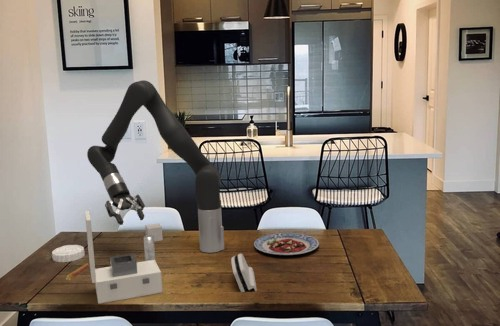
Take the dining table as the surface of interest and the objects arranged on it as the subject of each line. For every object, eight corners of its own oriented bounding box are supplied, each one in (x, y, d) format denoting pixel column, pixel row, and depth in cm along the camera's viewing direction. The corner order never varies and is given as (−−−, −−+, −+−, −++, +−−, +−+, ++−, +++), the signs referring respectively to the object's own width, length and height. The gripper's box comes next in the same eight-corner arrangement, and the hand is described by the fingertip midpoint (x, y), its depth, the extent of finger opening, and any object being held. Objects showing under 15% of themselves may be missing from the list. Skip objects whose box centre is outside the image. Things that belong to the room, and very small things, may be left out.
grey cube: (159, 236, 221) (159, 223, 220) (162, 240, 215) (161, 226, 214) (146, 238, 219) (145, 225, 218) (148, 242, 213) (147, 228, 212)
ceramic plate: (332, 249, 198) (332, 242, 198) (280, 264, 184) (280, 257, 184) (291, 233, 219) (291, 227, 219) (241, 246, 205) (241, 239, 205)
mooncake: (53, 254, 203) (52, 246, 202) (84, 250, 206) (83, 242, 206) (51, 264, 192) (50, 255, 191) (84, 260, 195) (83, 251, 195)
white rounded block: (256, 291, 161) (245, 264, 160) (243, 297, 161) (231, 269, 160) (253, 271, 178) (243, 246, 176) (241, 276, 178) (230, 251, 176)
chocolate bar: (64, 280, 176) (64, 274, 176) (84, 268, 188) (84, 262, 187) (71, 281, 175) (70, 275, 175) (91, 268, 187) (90, 262, 186)
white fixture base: (155, 278, 174) (150, 203, 169) (162, 293, 162) (157, 212, 158) (91, 289, 167) (84, 210, 162) (94, 305, 155) (86, 220, 151)
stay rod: (154, 265, 187) (152, 234, 184) (156, 268, 183) (154, 237, 181) (144, 267, 185) (142, 235, 183) (146, 270, 182) (144, 238, 180)
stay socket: (134, 265, 168) (133, 253, 168) (137, 273, 161) (136, 261, 161) (110, 268, 166) (109, 257, 165) (112, 277, 159) (112, 265, 158)
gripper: (101, 184, 189) (117, 219, 183) (135, 178, 199) (152, 212, 192) (96, 196, 194) (112, 230, 188) (129, 189, 204) (146, 222, 197)
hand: (132, 221), depth 190 cm, fingers open, 8 cm apart
